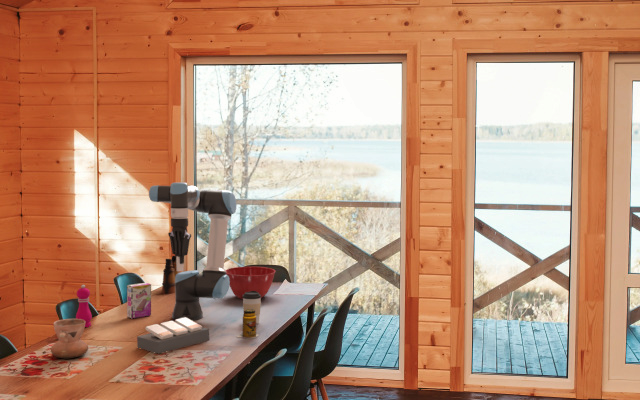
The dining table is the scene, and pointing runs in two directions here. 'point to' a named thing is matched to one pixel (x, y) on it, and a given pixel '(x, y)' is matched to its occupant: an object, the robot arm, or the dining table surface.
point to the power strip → (172, 341)
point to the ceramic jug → (69, 338)
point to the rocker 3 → (188, 324)
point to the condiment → (249, 324)
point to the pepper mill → (84, 306)
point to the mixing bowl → (250, 280)
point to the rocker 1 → (159, 331)
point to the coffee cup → (252, 302)
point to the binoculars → (169, 276)
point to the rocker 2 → (174, 328)
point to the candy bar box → (138, 300)
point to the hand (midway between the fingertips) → (180, 270)
